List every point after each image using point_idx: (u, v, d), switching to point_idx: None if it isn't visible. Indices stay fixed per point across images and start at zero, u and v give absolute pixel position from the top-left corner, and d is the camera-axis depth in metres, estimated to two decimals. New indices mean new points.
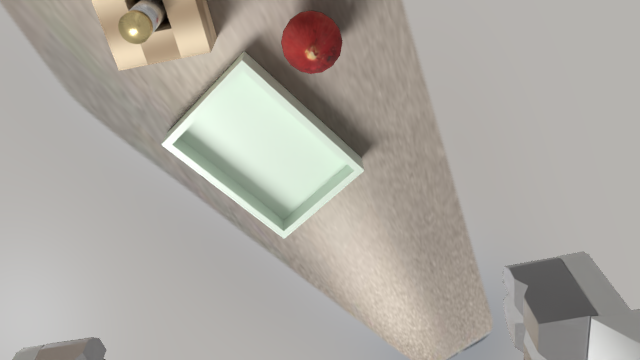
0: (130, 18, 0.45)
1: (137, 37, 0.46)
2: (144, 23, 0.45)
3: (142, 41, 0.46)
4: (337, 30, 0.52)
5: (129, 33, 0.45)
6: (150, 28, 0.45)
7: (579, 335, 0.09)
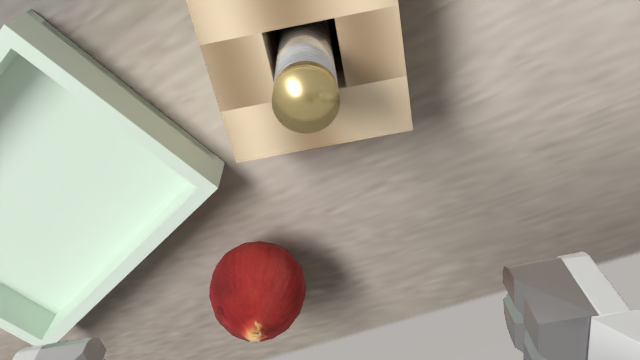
0: (328, 98, 0.21)
1: (286, 106, 0.21)
2: (317, 123, 0.21)
3: (278, 114, 0.21)
4: None
5: (296, 91, 0.20)
6: None
7: (579, 335, 0.09)
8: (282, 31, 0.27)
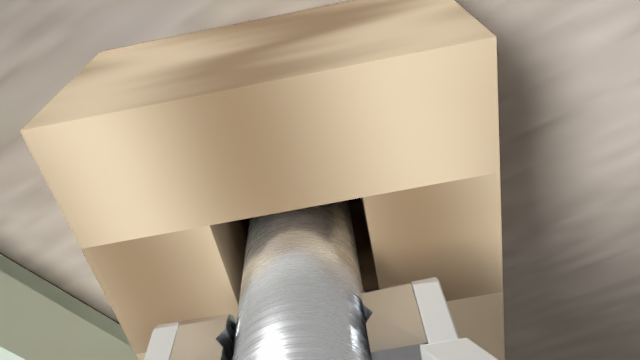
0: None
1: None
2: None
3: None
4: None
5: None
6: None
7: None
8: None
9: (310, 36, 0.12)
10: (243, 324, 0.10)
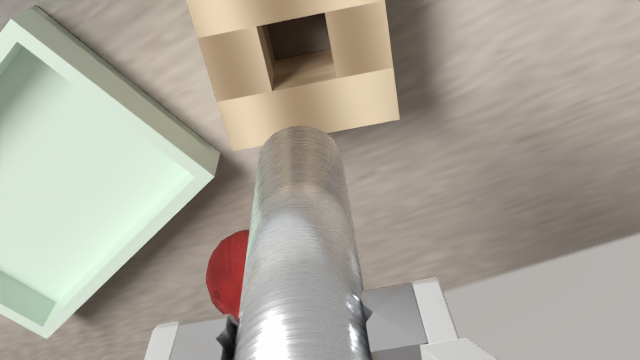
0: None
1: None
2: None
3: None
4: None
5: None
6: None
7: None
8: (258, 188, 0.14)
9: None
10: (245, 317, 0.10)
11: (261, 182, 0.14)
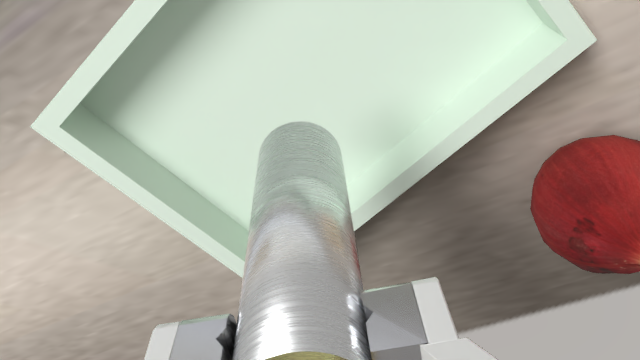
0: None
1: None
2: None
3: None
4: None
5: None
6: None
7: None
8: (258, 183, 0.14)
9: None
10: (245, 307, 0.10)
11: (261, 177, 0.14)
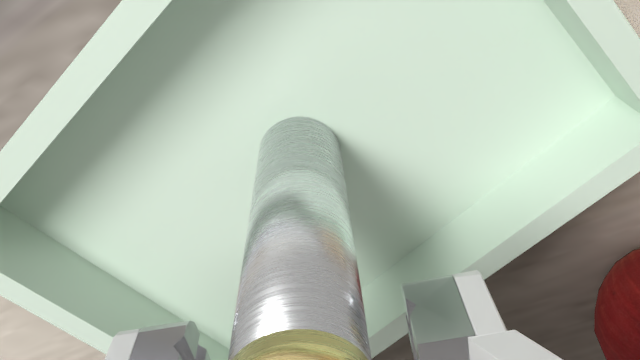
0: None
1: None
2: None
3: None
4: None
5: None
6: None
7: (459, 354, 0.09)
8: (258, 175, 0.15)
9: None
10: (244, 290, 0.11)
11: (261, 169, 0.15)
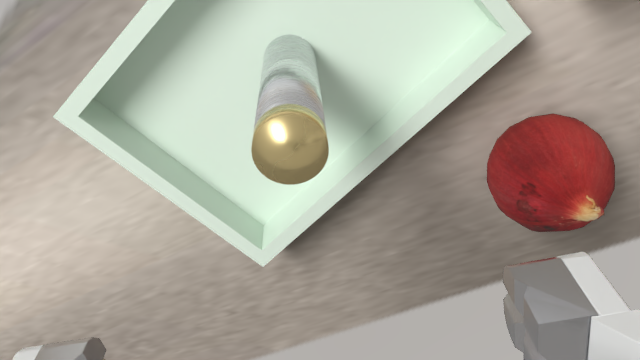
0: (315, 145, 0.18)
1: (268, 155, 0.18)
2: (303, 173, 0.19)
3: (259, 165, 0.19)
4: None
5: (278, 139, 0.18)
6: None
7: (579, 335, 0.09)
8: (264, 63, 0.24)
9: None
10: (260, 102, 0.20)
11: (266, 60, 0.24)
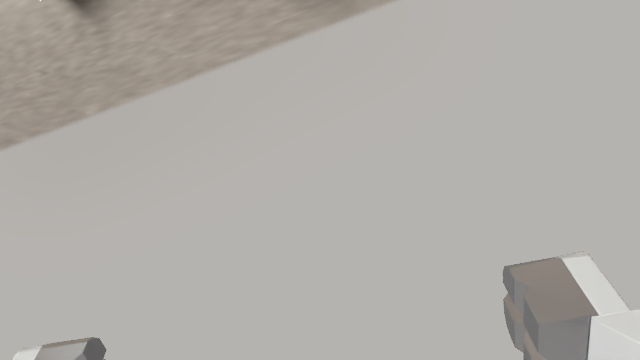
0: None
1: None
2: None
3: None
4: None
5: None
6: None
7: (579, 335, 0.09)
8: None
9: None
10: None
11: None
